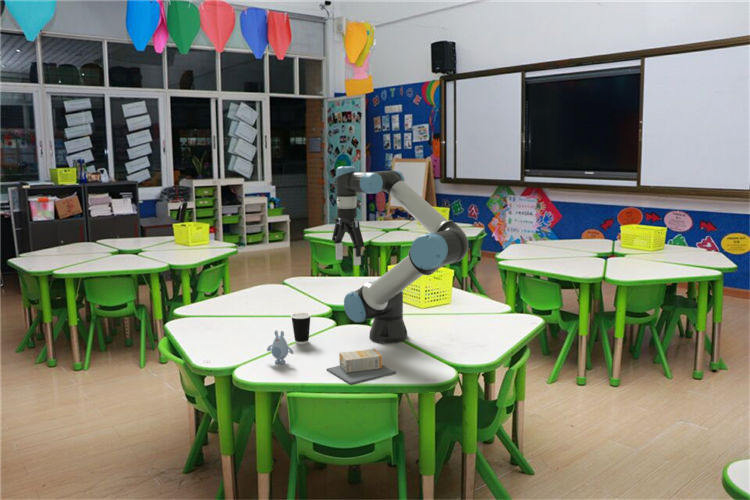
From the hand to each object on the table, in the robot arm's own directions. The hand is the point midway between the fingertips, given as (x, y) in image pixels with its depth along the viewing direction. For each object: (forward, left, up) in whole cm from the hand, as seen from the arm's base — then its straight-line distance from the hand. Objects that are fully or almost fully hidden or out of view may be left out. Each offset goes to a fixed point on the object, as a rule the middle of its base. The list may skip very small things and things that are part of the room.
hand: (348, 262), depth 250 cm
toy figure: (+33, +7, -32) cm, 46 cm away
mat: (+14, +31, -32) cm, 46 cm away
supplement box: (+6, +30, -29) cm, 42 cm away
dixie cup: (+16, -10, -32) cm, 37 cm away
